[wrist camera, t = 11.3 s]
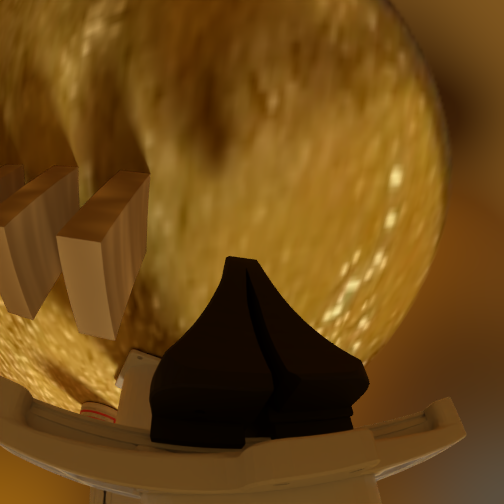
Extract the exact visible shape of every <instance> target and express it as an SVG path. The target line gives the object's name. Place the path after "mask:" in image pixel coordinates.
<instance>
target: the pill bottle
mask: <svg viewBox="0 0 504 504" xmlns="http://www.w3.org/2000/svg"><path fill="white" fill-rule="evenodd" d="M80 414H81V415H84V416H88V417H92V418H95V419H99V420H103V421H107V422H111V423H116V417H117V411H116V410H114V409H113V408H111V407H108V406H106V405H103V404H100V403H95V402H85V403H83V405H82V407H81V411H80Z"/></svg>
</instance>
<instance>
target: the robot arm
mask: <svg viewBox="0 0 504 504" xmlns="http://www.w3.org/2000/svg"><path fill="white" fill-rule="evenodd" d="M369 384H370V383H369V379H368V376H367V374H366V371H365V369H364V366H363V364H362V362H361V360H359V359H358V358H356V357H354V356H352V355H350V354H349V353H347V352H345V351H343V350H342V349H340V348H339V347H337V346H336V345H334V344H333V343H331V342H330V341H328V340H327V339H326V338H324V337H323V336H322V335H320V334H319V333H318V332H317V331H315V330H314V329H313V328H312V327H311V326H309V325H308V324H307V323H306V322H305V321H304V320H303V319H302V318H301V317H300V316H299V315H298V314H297V313H296V312H295V311H294V310H293V309H292V308H291V307H290V306H289V304H288V303H287V302H286V301H285V300H284V298H283V297H282V296H281V295H280V293H279V292H278V291H277V289H276V288H275V287H274V285H273V284H272V282H271V281H270V279H269V278H268V276H267V275H266V273H265V272H264V270H263V269H262V267H261V266H260V264H259V263H258V261H257V260H254V259H247V258H239V257H232V256H228V257H227V258H226V260H225V265H224V270H223V274H222V279H221V281H220V284H219V286H218V288H217V290H216V292H215V293H214V295H213V297H212V299H211V301H210V302H209V304H208V305H207V307H206V308H205V310H204V311H203V313H202V314H201V315H200V317H199V318H198V319H197V321H196V322H195V323H194V324H193V326H192V327H191V328H190V329H189V330H188V331H187V332H186V333H185V334H184V335H183V336H182V337H181V338H180V339H179V340H178V341H177V342H176V343H175V344H174V345H173V346H172V347H170V348H169V349H168V350H167V351H166V352H165V354H164V355H163V357H162V359H160V358H157V357H154V356H152V355H149V354H146V353H143V352H141V351H138V350H135V349H133V350H131V351H130V352H129V354H128V357H127V359H126V361H125V363H124V365H123V367H122V369H121V372H120V374H119V376H118V378H117V380H116V383H115V385H116V386H117V387H118V388H121V389H122V390H121V395H120V401H119V406H118V412H117V417H116V423H111V422H107V421H103V420H99V419H95V418H92V417H88V416H84V415H81V414H78V413H74V412H71V411H68V410H65V409H62V408H59V407H56V406H53V405H50V404H48V403H45V402H42V401H40V400H37V399H35V398H33V397H32V395H31V393H30V392H29V391H28V390H27V389H26V388H24V387H23V386H21V385H20V384H18V383H15V382H13V381H11V380H9V379H6V378H4V377H2V376H0V445H1V446H2V447H4V448H5V449H6V450H8V451H9V452H11V453H12V454H14V455H16V456H18V457H20V458H22V459H24V460H26V461H28V462H31V463H32V464H35V465H37V466H39V467H41V468H43V469H46V470H48V471H50V472H53V473H55V474H58V475H60V476H63V477H65V478H68V479H71V480H73V481H76V482H79V483H82V484H85V485H88V486H91V488H90V504H382V502H381V498H380V494H379V490H378V486H377V483H376V481H377V480H380V479H383V478H386V477H388V476H391V475H393V474H396V473H398V472H401V471H403V470H406V469H408V468H410V467H413V466H415V465H417V464H419V463H421V462H424V461H426V460H428V459H430V458H432V457H434V456H436V455H437V454H439V453H441V452H442V451H444V450H446V449H447V448H449V447H450V446H452V445H454V444H455V443H457V442H458V441H460V440H461V439H463V438H464V437H466V432H465V430H464V427H463V425H462V423H461V420H460V418H459V416H458V413H457V411H456V409H455V407H454V404H453V402H452V400H451V398H450V397H446V398H444V399H440V400H438V401H435V402H433V403H432V404H430V405H429V406H428V407H427V408H426V409H425V410H424V411H421V412H418V413H415V414H411V415H408V416H404V417H401V418H397V419H393V420H389V421H385V422H381V423H377V424H371V425H367V426H362V427H357V428H353V425H352V422H351V418H350V416H352V415H353V410H352V407H351V406H352V405H353V404H354V403H355V402H356V401H357V400H358V399H359V398H360V397H361V396H362V395H363V394H364V393H365V392H366V390H367V388H368V386H369Z"/></svg>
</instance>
